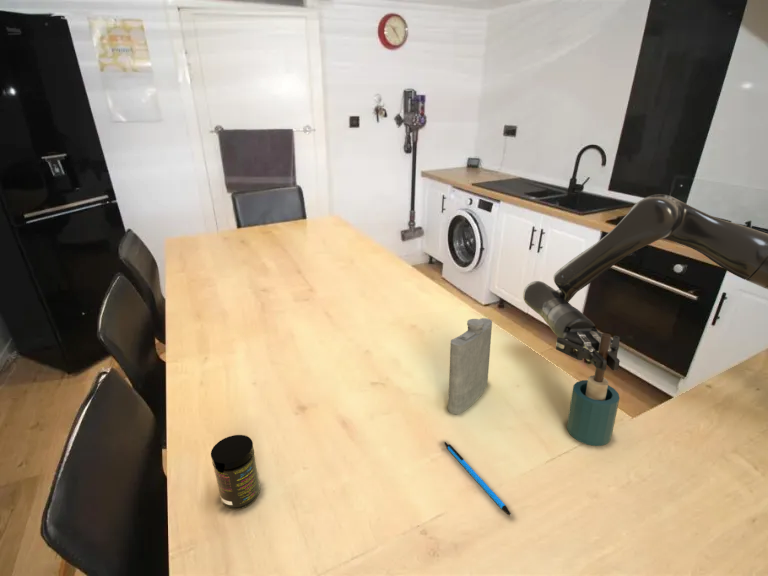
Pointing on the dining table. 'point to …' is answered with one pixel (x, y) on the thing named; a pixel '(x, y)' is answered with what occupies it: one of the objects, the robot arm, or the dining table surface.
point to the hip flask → (469, 365)
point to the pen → (478, 478)
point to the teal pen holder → (592, 415)
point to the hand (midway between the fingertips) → (610, 366)
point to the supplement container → (236, 471)
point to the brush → (599, 373)
